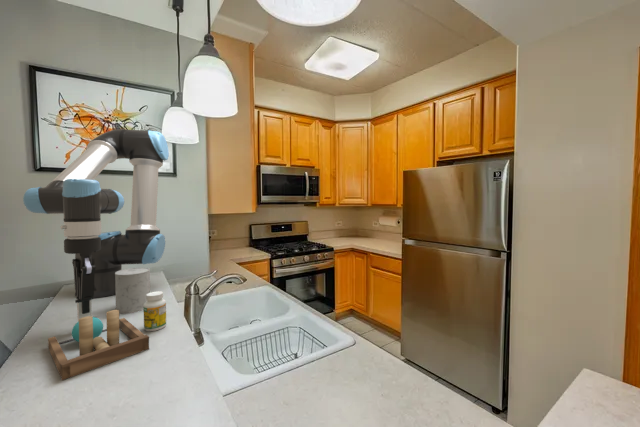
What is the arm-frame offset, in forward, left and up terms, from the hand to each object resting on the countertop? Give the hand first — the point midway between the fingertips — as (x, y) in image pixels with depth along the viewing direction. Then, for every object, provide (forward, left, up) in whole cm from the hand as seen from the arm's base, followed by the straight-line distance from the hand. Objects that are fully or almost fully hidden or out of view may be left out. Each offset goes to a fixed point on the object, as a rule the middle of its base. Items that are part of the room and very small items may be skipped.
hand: (84, 323), depth 74 cm
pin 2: (+15, +2, -2) cm, 16 cm away
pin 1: (+15, -2, -2) cm, 16 cm away
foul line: (+4, 0, -2) cm, 4 cm away
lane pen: (+14, 0, -2) cm, 14 cm away
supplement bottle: (+12, +13, -2) cm, 18 cm away
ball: (+8, -1, +1) cm, 8 cm away
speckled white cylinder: (-9, +14, -2) cm, 17 cm away
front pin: (+12, 0, -1) cm, 12 cm away
